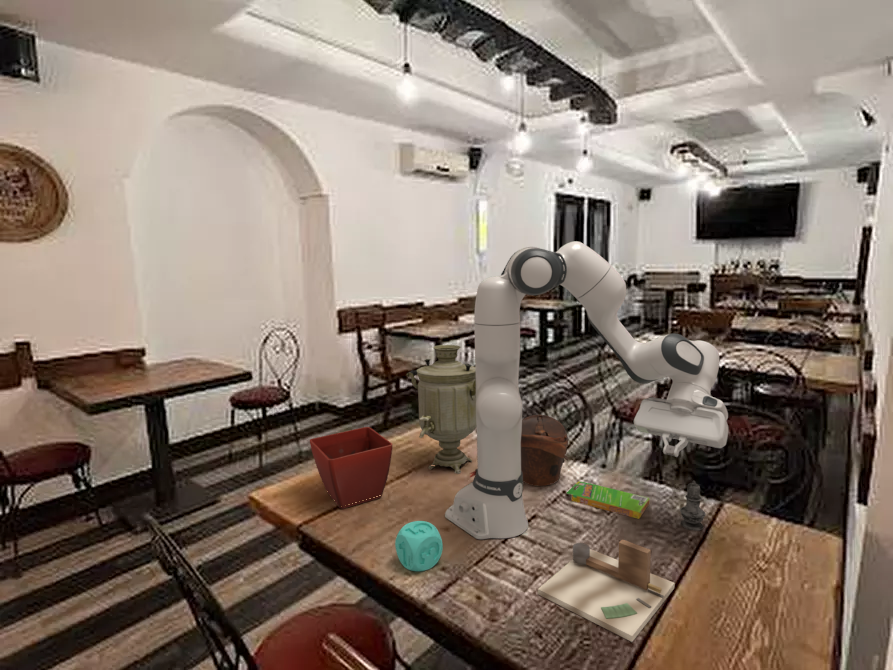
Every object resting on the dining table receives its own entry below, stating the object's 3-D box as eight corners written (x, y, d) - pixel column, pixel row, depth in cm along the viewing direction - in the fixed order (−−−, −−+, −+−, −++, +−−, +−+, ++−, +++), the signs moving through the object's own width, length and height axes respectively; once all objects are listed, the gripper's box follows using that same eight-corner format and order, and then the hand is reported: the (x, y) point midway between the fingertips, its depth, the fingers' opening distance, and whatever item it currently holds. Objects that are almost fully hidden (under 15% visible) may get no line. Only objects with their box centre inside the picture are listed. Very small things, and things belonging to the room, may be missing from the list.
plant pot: (332, 518, 140) (328, 459, 138) (312, 492, 157) (308, 438, 154) (396, 499, 150) (394, 444, 147) (371, 476, 166) (368, 426, 164)
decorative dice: (395, 560, 120) (393, 528, 119) (423, 547, 125) (422, 516, 124) (414, 576, 114) (413, 543, 113) (443, 562, 119) (442, 530, 117)
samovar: (384, 466, 174) (378, 349, 168) (442, 445, 191) (438, 338, 185) (444, 494, 152) (440, 360, 146) (503, 467, 170) (501, 347, 164)
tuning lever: (569, 560, 115) (569, 526, 113) (578, 553, 117) (578, 520, 116) (657, 597, 101) (658, 560, 100) (664, 589, 104) (665, 552, 103)
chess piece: (708, 532, 127) (710, 486, 126) (682, 530, 129) (684, 484, 127) (701, 519, 133) (703, 475, 131) (677, 518, 134) (678, 474, 133)
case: (532, 497, 148) (532, 436, 146) (498, 471, 167) (497, 417, 164) (582, 485, 155) (584, 427, 153) (544, 462, 174) (545, 410, 171)
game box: (638, 523, 135) (564, 499, 147) (649, 508, 143) (578, 487, 155) (639, 512, 134) (565, 489, 146) (650, 497, 142) (578, 477, 154)
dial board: (537, 594, 106) (537, 588, 106) (586, 552, 121) (586, 546, 120) (632, 642, 93) (632, 635, 93) (674, 588, 107) (674, 582, 107)
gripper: (640, 389, 129) (622, 438, 123) (730, 403, 115) (714, 458, 109) (647, 402, 133) (630, 450, 127) (735, 417, 119) (720, 471, 113)
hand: (670, 454), depth 118 cm, fingers closed
